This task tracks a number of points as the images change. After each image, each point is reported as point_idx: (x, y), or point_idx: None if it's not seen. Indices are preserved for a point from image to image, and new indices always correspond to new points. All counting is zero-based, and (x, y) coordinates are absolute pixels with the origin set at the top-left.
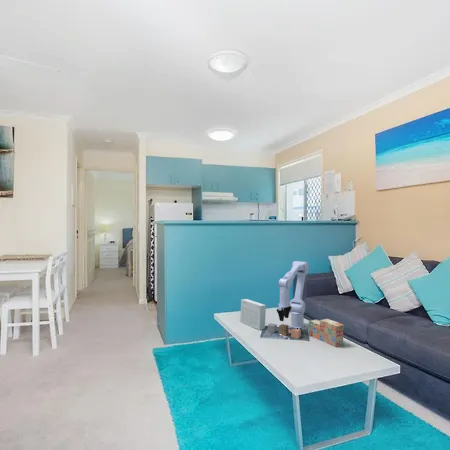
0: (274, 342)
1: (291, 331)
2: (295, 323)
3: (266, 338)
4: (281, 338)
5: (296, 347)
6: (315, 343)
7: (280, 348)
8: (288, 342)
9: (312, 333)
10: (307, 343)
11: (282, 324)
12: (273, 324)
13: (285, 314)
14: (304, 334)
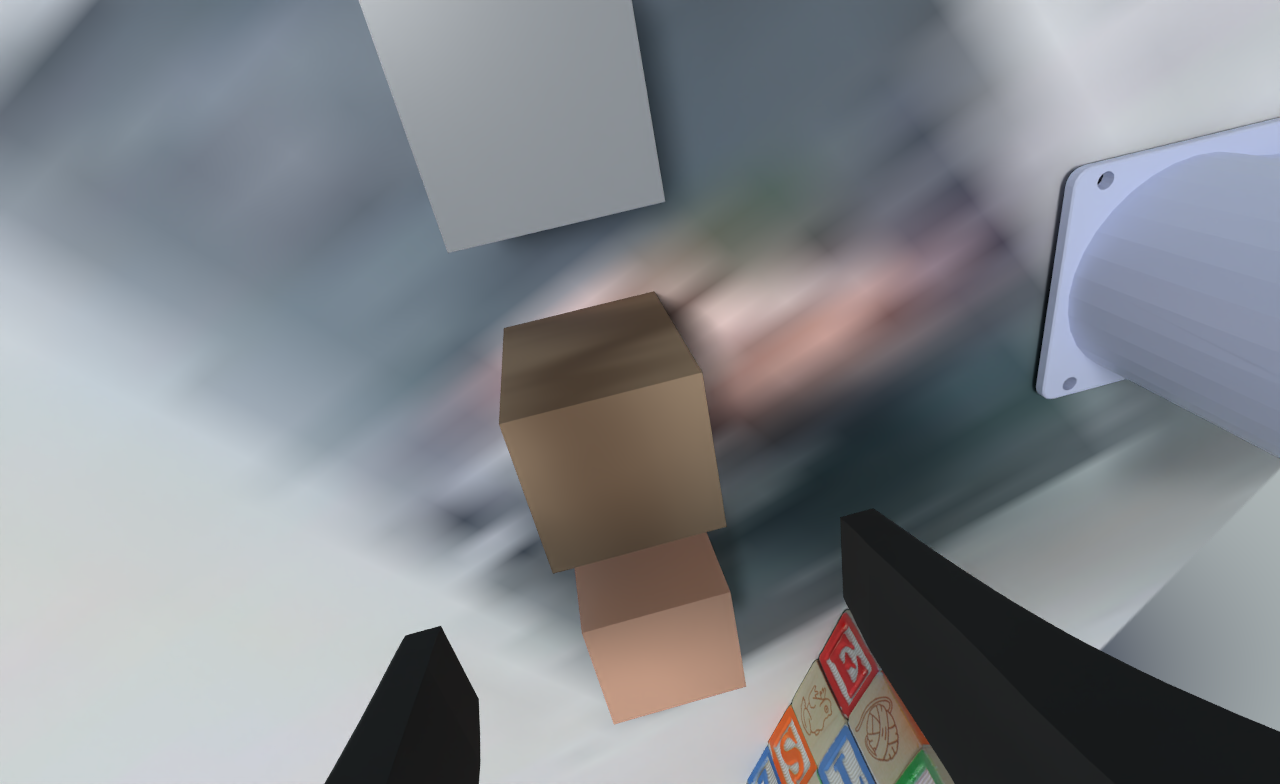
0: (88, 539)
1: (581, 615)
2: (1133, 342)
3: (46, 314)
4: (374, 485)
5: (303, 774)
6: (629, 779)
7: (24, 722)
8: (342, 639)
9: (838, 697)
10: (550, 750)
11: (672, 405)
12: (586, 115)
13: (909, 629)
14: (837, 561)
